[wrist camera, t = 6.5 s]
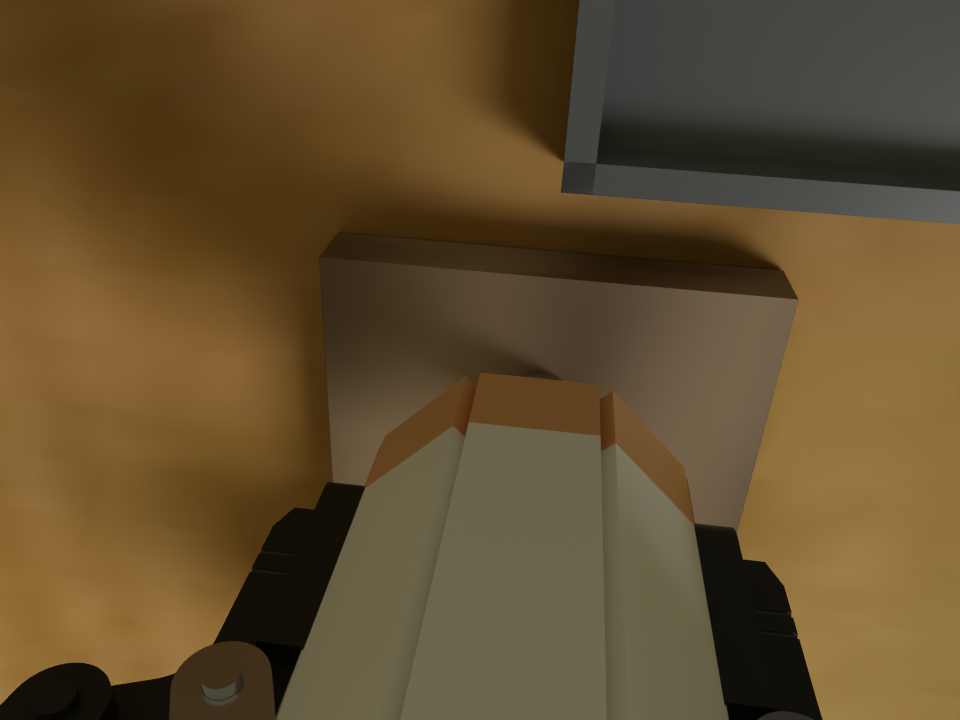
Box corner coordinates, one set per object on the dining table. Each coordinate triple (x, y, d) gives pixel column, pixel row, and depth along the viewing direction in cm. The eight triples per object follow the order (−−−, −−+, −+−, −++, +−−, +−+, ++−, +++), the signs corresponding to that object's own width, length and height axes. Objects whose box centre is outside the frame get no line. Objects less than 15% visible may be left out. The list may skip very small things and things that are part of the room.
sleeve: (705, 395, 13) (804, 806, 7) (655, 628, 16) (694, 1068, 10) (378, 362, 14) (212, 725, 8) (383, 595, 16) (263, 998, 10)
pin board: (783, 270, 18) (872, 441, 12) (667, 733, 26) (689, 966, 20) (338, 232, 19) (228, 376, 13) (359, 692, 26) (297, 904, 21)
